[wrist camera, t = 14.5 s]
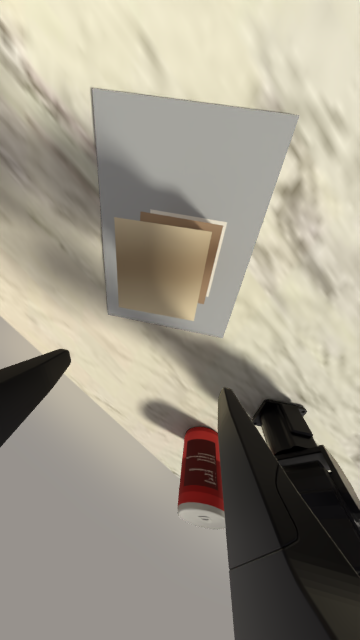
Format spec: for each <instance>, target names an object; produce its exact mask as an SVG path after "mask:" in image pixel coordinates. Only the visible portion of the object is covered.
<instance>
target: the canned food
mask: <svg viewBox="0 0 360 640" xmlns="http://www.w3.org/2000/svg"><path fill="white" fill-rule="evenodd" d="M178 516H179V517H180V518H181V519H182V520H184V521H185V522H187V523H189V524H192V525H195V526H198V527H202V528H207V529H224V528H226V526H225V514H224V502H223V490H222V478H221V466H220V454H219V442H218V433H217V432H215V431H214V430H212V429H209V428H206V427H194V428H191V429H189V430H188V431H187V432H186V435H185V438H184V448H183V458H182V468H181V478H180V488H179V498H178Z"/></svg>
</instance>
